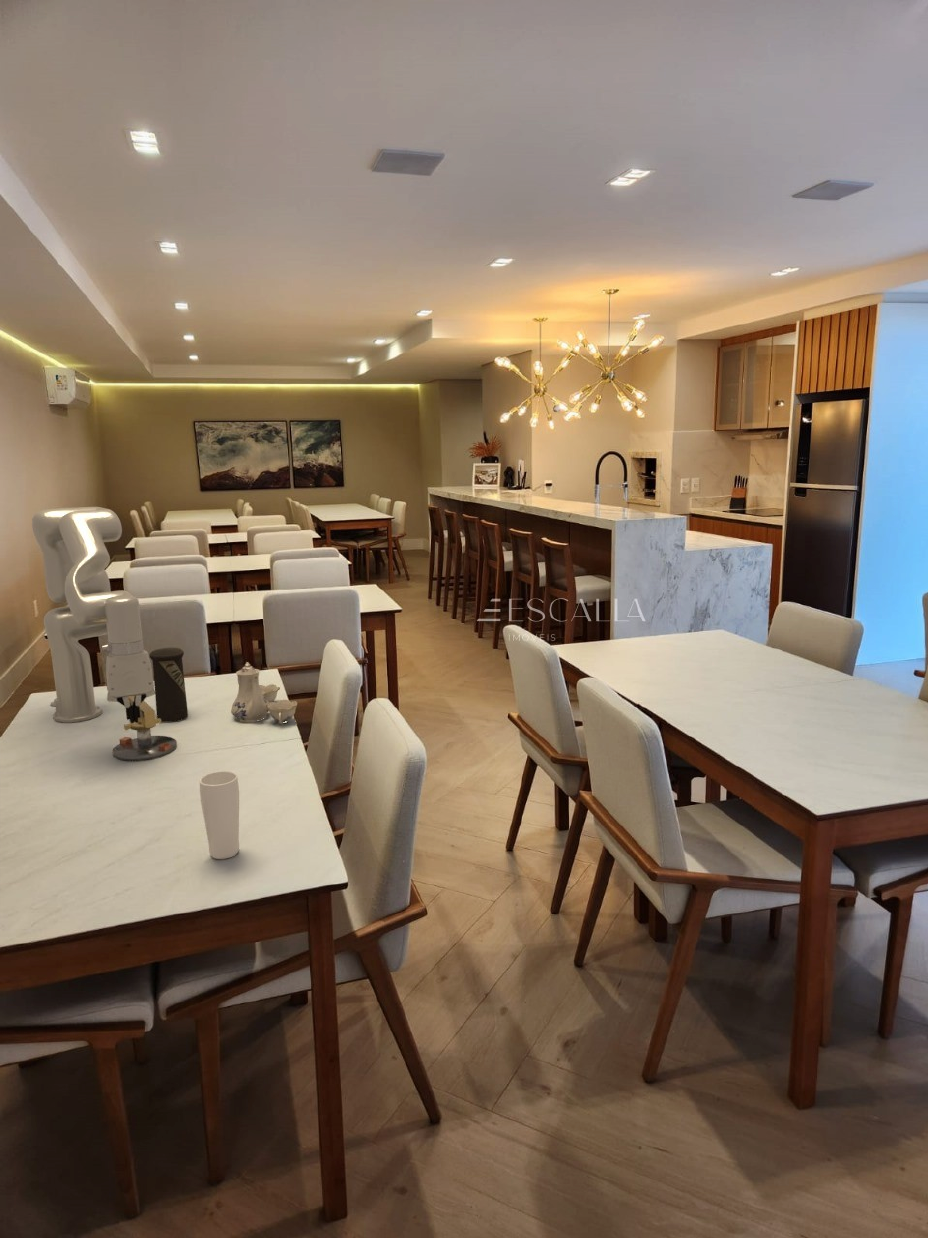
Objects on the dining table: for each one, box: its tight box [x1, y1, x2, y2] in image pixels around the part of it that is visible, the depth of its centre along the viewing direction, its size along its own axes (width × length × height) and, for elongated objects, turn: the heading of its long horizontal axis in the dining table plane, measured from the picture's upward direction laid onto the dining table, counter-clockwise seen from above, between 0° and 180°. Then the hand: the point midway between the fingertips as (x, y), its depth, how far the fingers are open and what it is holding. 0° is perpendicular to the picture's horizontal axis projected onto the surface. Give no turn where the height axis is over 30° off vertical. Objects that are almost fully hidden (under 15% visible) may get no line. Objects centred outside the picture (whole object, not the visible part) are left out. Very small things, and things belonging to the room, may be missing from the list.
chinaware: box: [230, 661, 298, 725], centre depth 224 cm, size 28×17×17 cm, turn 35°
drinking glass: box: [199, 770, 240, 860], centre depth 147 cm, size 7×7×15 cm
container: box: [148, 647, 189, 723], centre depth 222 cm, size 9×9×20 cm
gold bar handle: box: [123, 696, 162, 731], centre depth 198 cm, size 9×16×6 cm, turn 35°
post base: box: [112, 728, 178, 762], centre depth 200 cm, size 15×15×6 cm
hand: (133, 721), depth 192 cm, fingers closed
